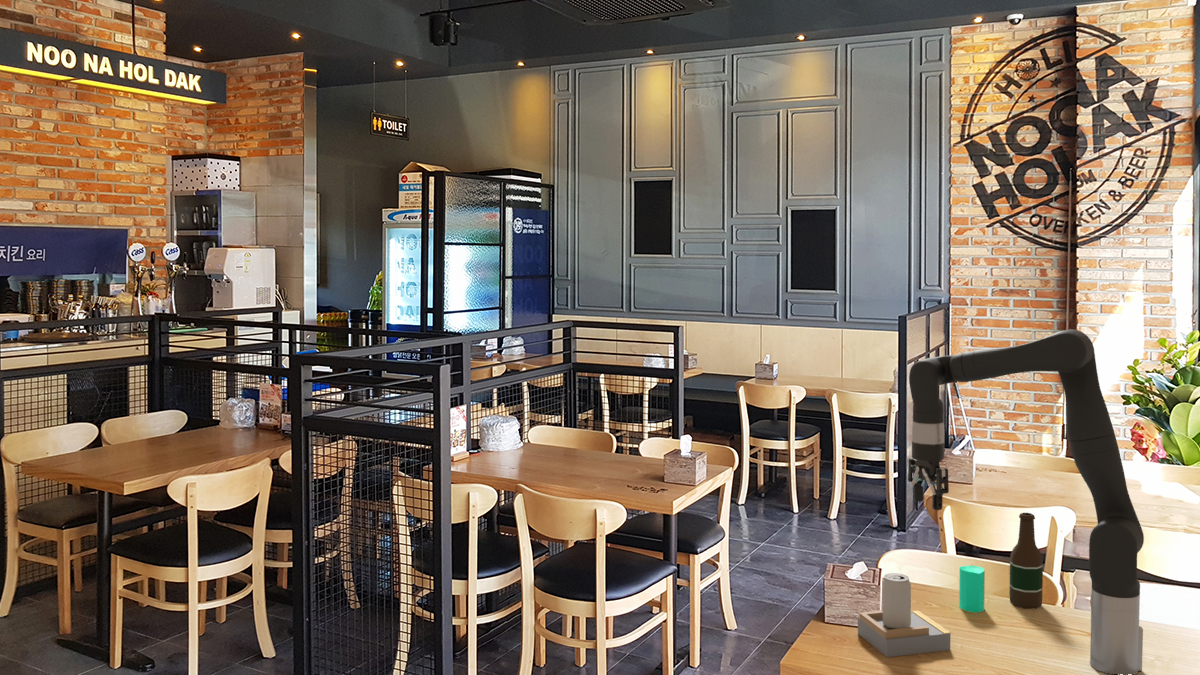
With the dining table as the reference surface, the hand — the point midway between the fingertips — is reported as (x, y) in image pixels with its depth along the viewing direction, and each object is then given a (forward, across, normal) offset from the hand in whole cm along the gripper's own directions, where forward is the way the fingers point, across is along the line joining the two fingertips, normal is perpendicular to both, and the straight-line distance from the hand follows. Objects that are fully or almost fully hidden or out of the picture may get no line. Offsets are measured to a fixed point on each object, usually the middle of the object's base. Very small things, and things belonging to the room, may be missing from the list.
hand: (927, 505), depth 228 cm
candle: (+30, +7, -17) cm, 35 cm away
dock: (+30, -8, +11) cm, 33 cm away
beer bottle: (+30, +6, -32) cm, 44 cm away
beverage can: (+26, -8, +13) cm, 30 cm away
